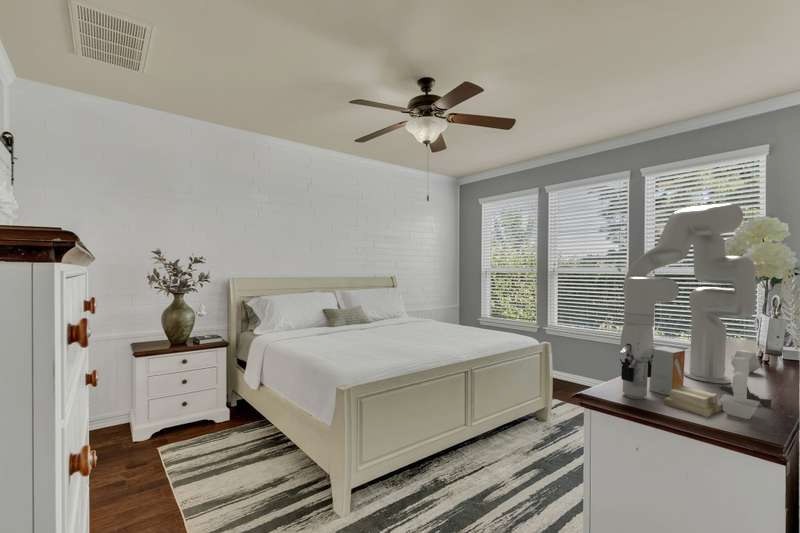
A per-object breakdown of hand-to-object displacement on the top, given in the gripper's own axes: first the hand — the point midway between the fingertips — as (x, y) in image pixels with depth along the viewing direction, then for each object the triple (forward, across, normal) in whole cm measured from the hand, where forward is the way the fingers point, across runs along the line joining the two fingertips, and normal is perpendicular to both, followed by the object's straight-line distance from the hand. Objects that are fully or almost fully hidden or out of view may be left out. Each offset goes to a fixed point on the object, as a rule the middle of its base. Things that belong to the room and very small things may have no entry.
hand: (636, 378), depth 113 cm
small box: (+6, -14, +2) cm, 15 cm away
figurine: (+6, -11, +20) cm, 24 cm away
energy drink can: (+6, 0, 0) cm, 6 cm away
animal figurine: (+6, -25, +17) cm, 31 cm away
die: (+6, -68, +5) cm, 68 cm away
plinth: (+5, -6, +12) cm, 14 cm away
